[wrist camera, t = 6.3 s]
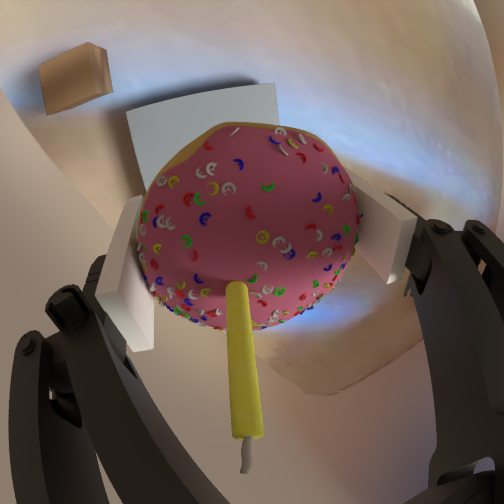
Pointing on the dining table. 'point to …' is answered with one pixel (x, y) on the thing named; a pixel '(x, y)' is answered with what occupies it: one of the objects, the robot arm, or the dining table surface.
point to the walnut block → (75, 78)
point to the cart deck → (194, 121)
